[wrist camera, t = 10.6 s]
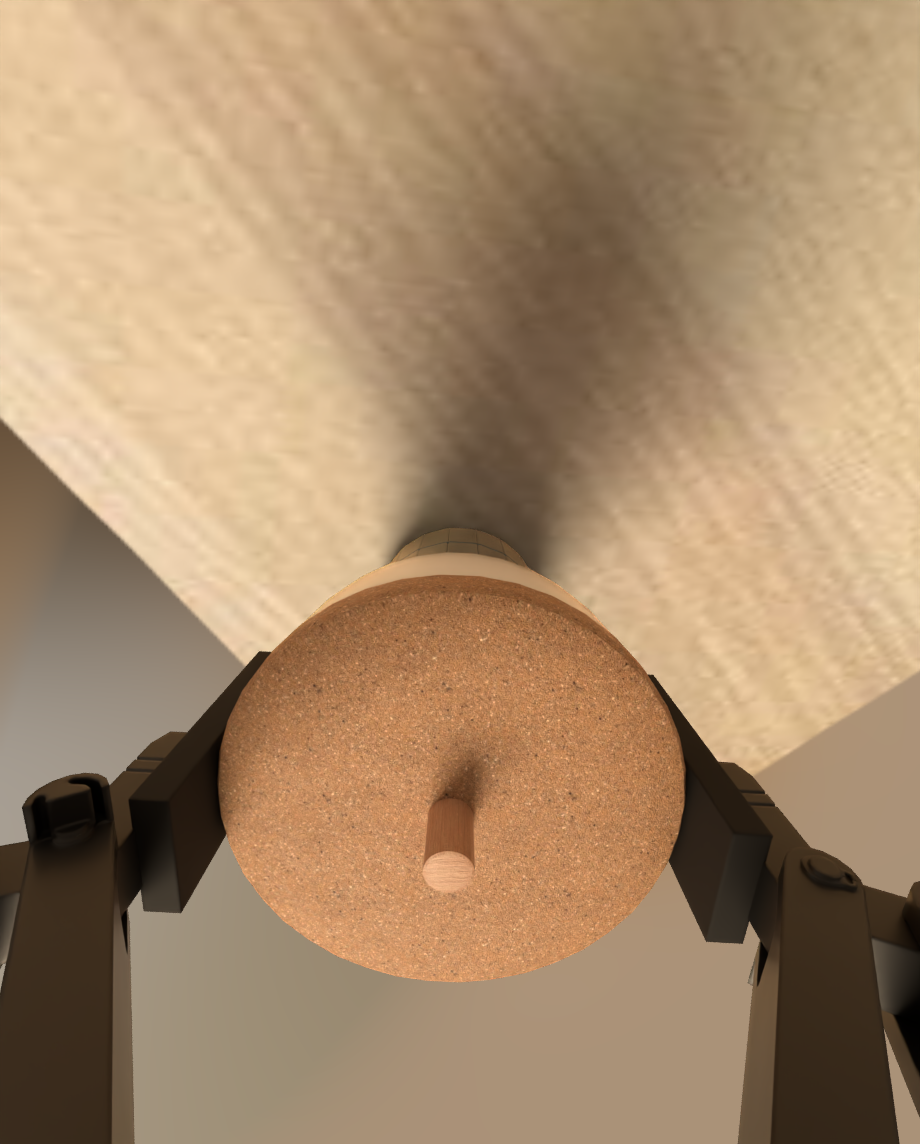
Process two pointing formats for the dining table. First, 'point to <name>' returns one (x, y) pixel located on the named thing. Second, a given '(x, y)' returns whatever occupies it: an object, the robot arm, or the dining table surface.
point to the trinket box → (452, 773)
